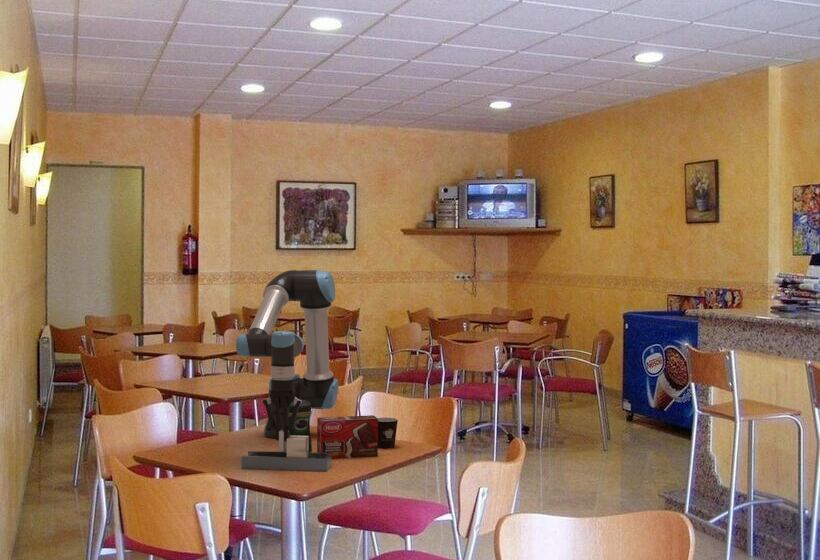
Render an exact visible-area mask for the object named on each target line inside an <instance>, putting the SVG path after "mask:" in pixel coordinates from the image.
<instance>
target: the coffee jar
mask: <svg viewBox="0 0 820 560" xmlns="http://www.w3.org/2000/svg"><path fill="white" fill-rule="evenodd" d="M294 406H295V405H294V401H293V402H292V403H291V404H290V406H289V425H290V421H291V417H292V413H293V409H294ZM312 411H313V410H312V409H311V404H310V402H309V401H306V400H302V403H301V405H300V406H299V409H298V413H297V417H296V421H295V425H294V428H292V429H290V430H289V431H288V437H289V436H291V435H293V436H309V446H308V452H309V453H313V452H312V451H313V449H312V448H313V447H312V436H311V427H310V426H311V425H310V422H311V421H310V419H311V416H312ZM283 412H284V411H283ZM283 452H287V441H285V450H284V451H283Z"/></svg>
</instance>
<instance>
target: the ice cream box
mask: <svg viewBox="0 0 820 560" xmlns="http://www.w3.org/2000/svg"><path fill="white" fill-rule="evenodd" d="M378 418H379V417H377V416H375V415H371V414H370V415H352V416H351V415H350V416H349V415H348V416H323V417H321V416H320V417H317V419H316V420H317V422H316V423H317V425H316V427H317V428H316V433H317V434H316V444H317V445H316V453H332V460H336V459H337V460H339V459H355V458H371V457H373V458H375V457H376V458H377V457H378V455H379V454H378V450H379V448H378Z"/></svg>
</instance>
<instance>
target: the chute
mask: <svg viewBox="0 0 820 560" xmlns="http://www.w3.org/2000/svg"><path fill="white" fill-rule="evenodd" d="M332 462H333V459H332V453H317V452H311V453H309V452H308V458H302V457H287V452H284V451H273V450H272V451H266V450H265V451H264V450H247V455H242V456H241V470H270V471H300V472H301V471H304V472H305V471H307V472H309V471H310V472H312V471H313V472H328V471H329V470H330V468H331V467H332V464H333V463H332Z"/></svg>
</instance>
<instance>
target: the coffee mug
mask: <svg viewBox="0 0 820 560" xmlns="http://www.w3.org/2000/svg"><path fill="white" fill-rule="evenodd" d="M377 418H378V449H382V448H383V449H382V450H384V449H385V450H389V449H388V448H390V449H393V448H395V445H396V438H397V428H398V420H399V419H398V418H395V417H377Z"/></svg>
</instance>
